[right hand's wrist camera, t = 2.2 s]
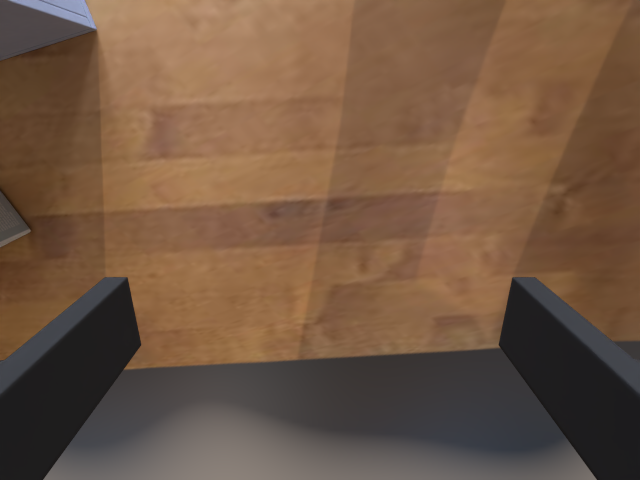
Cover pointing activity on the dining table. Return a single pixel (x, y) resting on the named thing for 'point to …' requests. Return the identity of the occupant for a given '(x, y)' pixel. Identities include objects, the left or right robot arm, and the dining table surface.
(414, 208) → the dining table surface
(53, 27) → the chest
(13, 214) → the hard drive box
